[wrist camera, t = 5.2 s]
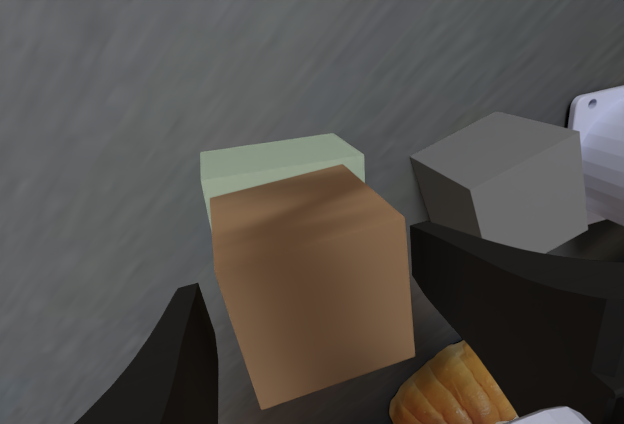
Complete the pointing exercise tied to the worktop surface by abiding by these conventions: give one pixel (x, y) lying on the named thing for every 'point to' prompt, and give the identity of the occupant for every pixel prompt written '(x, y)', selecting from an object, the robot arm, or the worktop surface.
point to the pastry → (451, 392)
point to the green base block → (273, 163)
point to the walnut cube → (313, 281)
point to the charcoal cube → (506, 182)
